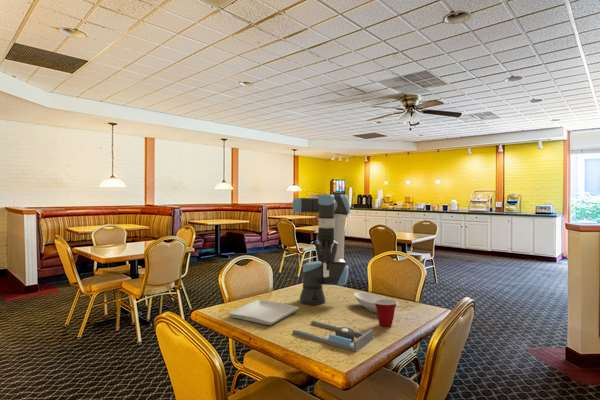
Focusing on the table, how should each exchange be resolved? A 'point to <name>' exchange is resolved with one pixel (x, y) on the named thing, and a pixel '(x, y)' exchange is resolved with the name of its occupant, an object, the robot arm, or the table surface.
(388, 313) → the plastic cup
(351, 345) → the gray u-shaped frame
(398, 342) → the table surface
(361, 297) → the bowl
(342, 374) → the table surface
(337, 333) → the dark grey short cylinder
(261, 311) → the square plate
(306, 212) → the robot arm
